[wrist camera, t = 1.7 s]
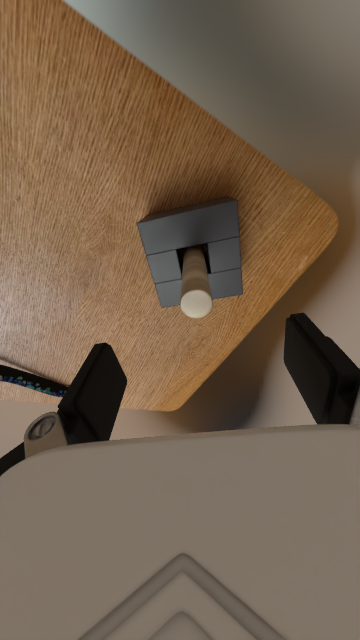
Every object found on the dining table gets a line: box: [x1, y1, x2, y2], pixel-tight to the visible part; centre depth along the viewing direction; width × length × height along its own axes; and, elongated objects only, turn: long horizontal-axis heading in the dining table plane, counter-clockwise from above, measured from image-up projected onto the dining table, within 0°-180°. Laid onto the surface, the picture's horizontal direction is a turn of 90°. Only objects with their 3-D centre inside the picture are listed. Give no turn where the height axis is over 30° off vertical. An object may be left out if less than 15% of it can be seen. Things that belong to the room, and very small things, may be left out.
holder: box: [137, 197, 243, 308], centre depth 26 cm, size 10×10×6 cm
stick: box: [180, 244, 213, 318], centre depth 22 cm, size 2×2×16 cm
